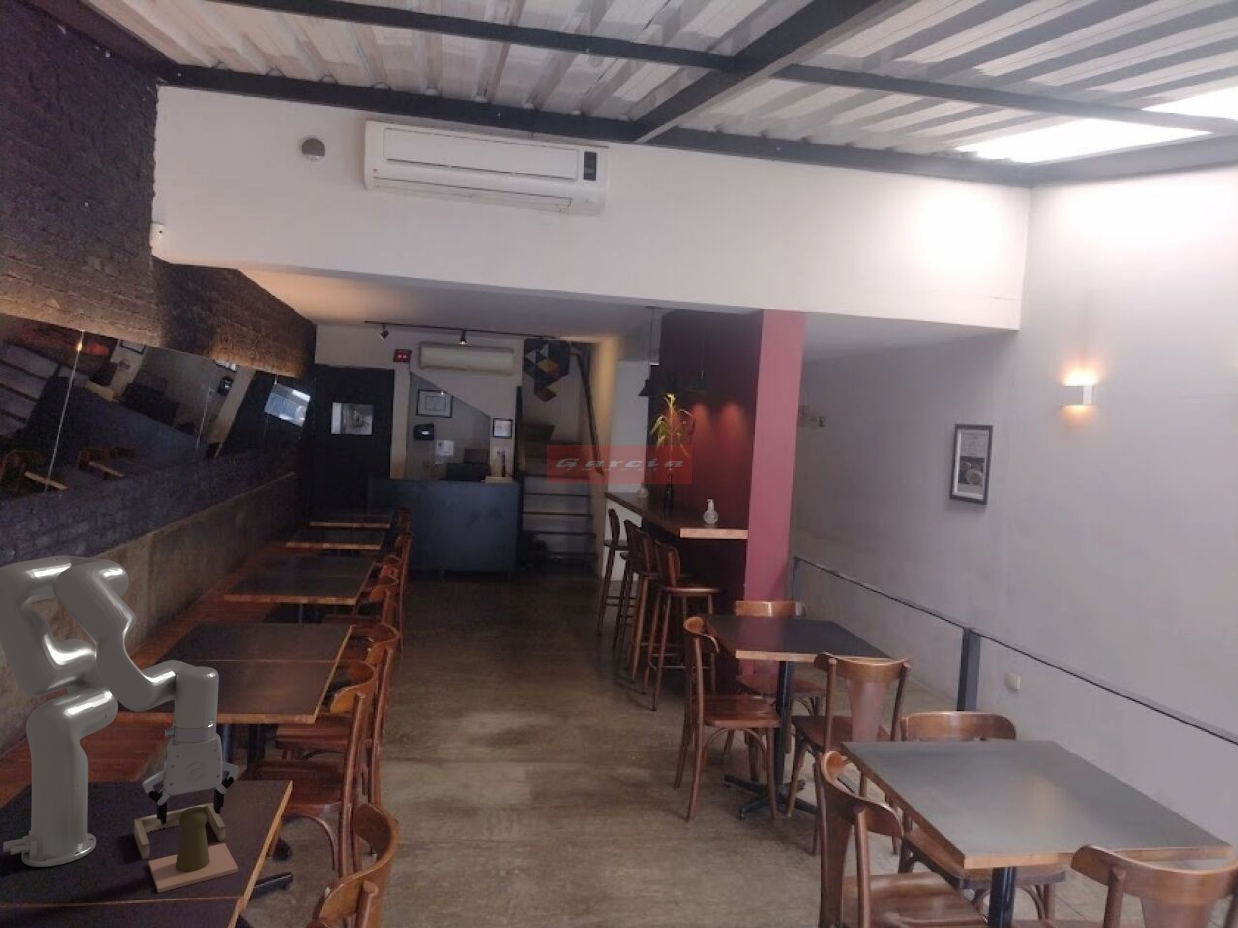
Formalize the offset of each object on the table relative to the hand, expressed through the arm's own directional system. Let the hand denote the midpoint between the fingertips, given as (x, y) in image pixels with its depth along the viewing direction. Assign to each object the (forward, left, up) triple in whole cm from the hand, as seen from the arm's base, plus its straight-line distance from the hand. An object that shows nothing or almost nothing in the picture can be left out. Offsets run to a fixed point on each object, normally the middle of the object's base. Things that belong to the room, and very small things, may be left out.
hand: (190, 816), depth 167 cm
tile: (+1, -1, -10) cm, 10 cm away
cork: (+1, 0, -10) cm, 10 cm away
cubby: (+1, +14, -10) cm, 18 cm away
